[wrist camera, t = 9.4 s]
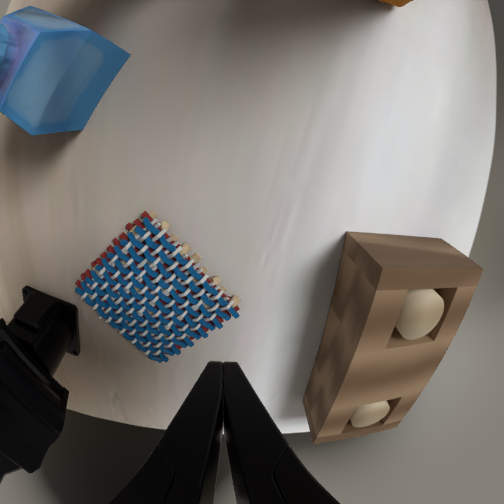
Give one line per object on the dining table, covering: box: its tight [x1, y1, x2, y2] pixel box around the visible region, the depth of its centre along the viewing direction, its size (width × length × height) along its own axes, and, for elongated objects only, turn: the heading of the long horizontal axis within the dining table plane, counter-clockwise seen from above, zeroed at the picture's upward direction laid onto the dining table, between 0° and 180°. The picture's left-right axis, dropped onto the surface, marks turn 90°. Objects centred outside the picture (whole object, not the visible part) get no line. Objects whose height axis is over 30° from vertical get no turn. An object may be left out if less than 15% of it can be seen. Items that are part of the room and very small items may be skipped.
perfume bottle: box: [0, 6, 130, 136], centre depth 9 cm, size 6×6×12 cm
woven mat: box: [75, 210, 240, 363], centre depth 21 cm, size 10×11×2 cm
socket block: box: [303, 232, 483, 444], centre depth 22 cm, size 20×10×6 cm, turn 176°
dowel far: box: [350, 400, 390, 427], centre depth 25 cm, size 4×4×6 cm
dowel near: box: [395, 289, 444, 340], centre depth 20 cm, size 4×4×6 cm
